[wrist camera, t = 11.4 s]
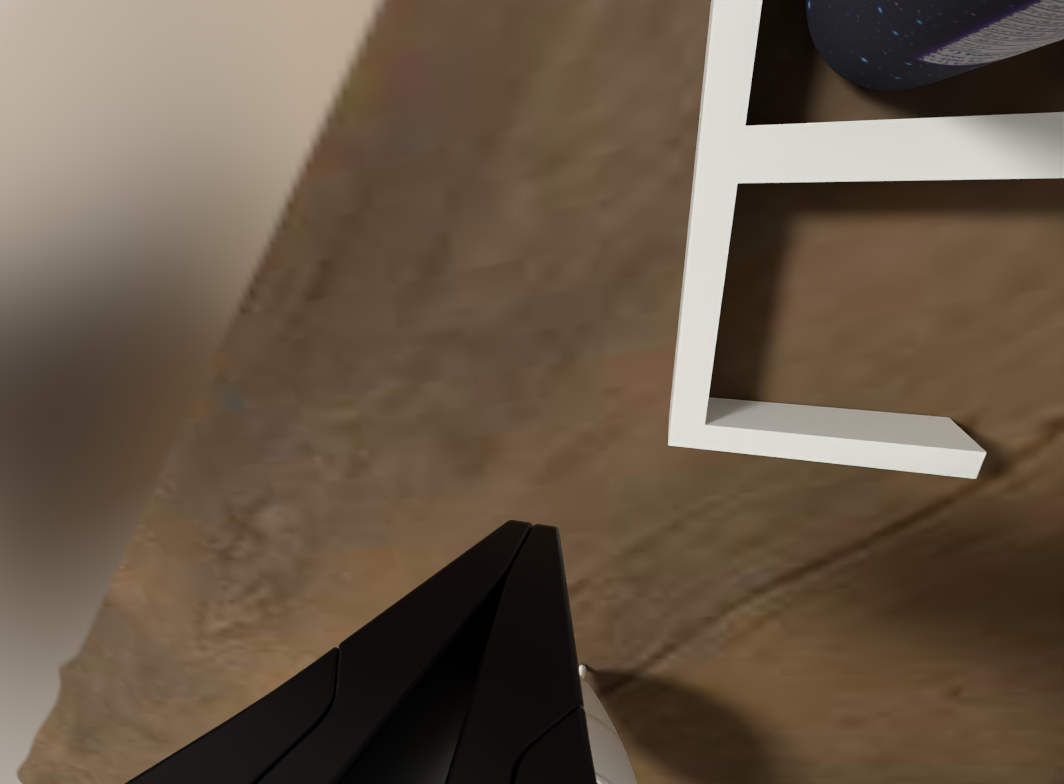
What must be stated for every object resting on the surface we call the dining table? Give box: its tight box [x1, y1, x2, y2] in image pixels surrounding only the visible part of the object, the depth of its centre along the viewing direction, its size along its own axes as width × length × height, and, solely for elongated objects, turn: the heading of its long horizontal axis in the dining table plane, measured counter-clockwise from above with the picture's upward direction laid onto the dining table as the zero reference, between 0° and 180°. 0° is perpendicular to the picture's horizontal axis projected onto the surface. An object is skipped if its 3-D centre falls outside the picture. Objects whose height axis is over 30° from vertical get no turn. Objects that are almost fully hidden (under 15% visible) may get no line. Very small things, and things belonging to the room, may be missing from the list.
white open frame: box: [668, 0, 1064, 479], centre depth 14 cm, size 10×20×2 cm, turn 2°
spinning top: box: [579, 665, 637, 784], centre depth 23 cm, size 8×8×12 cm
